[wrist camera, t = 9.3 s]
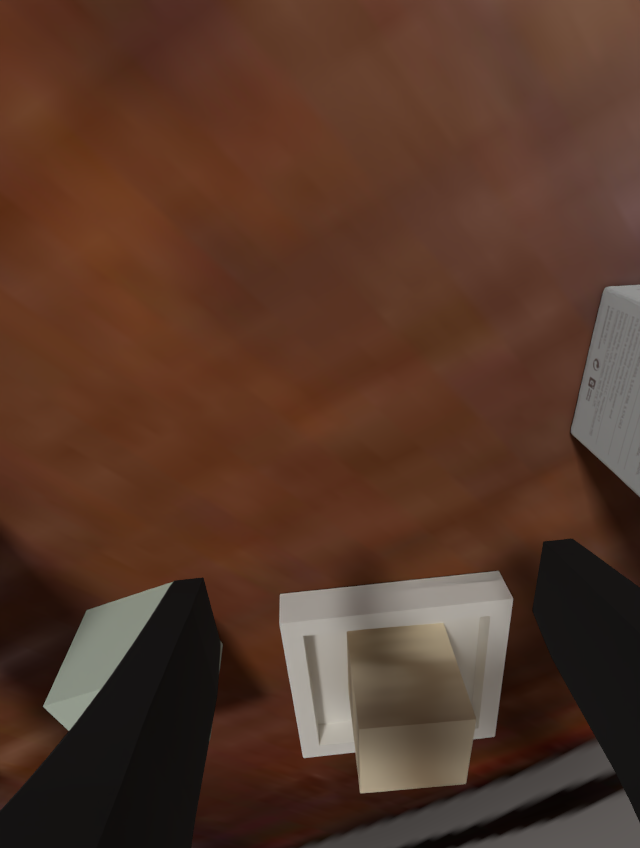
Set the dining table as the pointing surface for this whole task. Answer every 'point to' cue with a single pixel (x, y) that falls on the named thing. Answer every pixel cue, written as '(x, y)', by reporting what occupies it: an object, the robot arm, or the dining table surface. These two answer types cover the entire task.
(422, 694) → the maple cube
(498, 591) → the tray
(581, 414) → the small box
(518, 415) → the dining table surface
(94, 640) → the sage cube
